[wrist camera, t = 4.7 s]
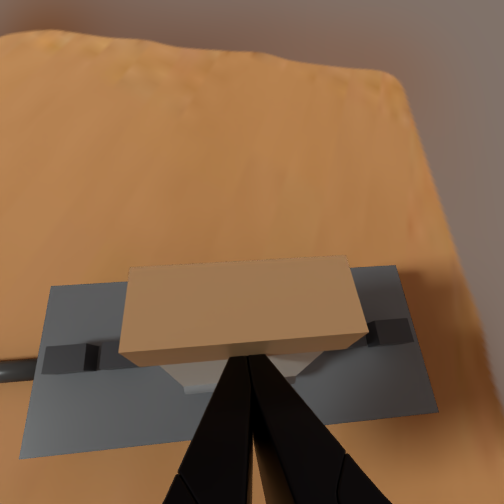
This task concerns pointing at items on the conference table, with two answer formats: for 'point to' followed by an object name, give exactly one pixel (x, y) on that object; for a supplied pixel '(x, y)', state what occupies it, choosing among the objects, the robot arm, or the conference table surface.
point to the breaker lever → (239, 315)
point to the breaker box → (193, 405)
